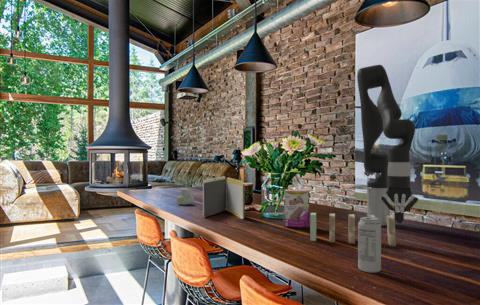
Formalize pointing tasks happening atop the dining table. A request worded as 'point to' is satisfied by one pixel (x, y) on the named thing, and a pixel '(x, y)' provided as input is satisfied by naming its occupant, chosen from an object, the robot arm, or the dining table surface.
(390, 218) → the domino
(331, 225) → the domino
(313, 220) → the domino
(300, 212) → the candy bar box
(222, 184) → the grey folded panel
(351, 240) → the domino
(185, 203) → the air freshener
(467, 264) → the dining table surface
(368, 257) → the energy drink can
